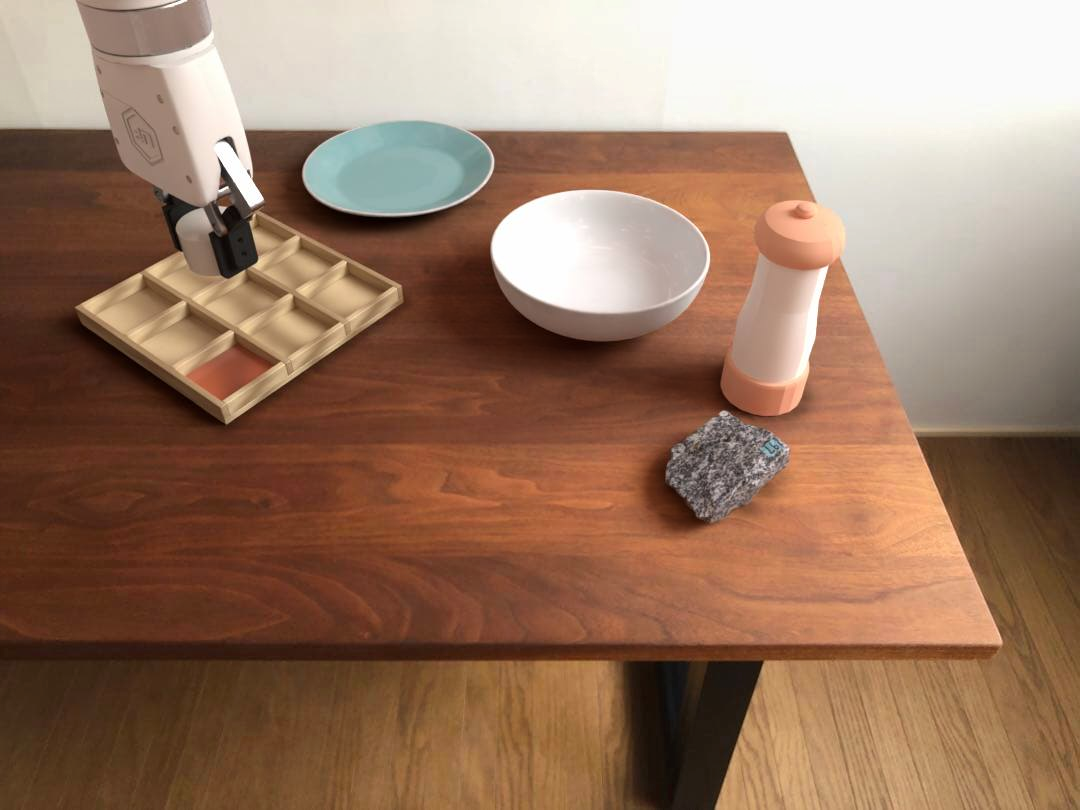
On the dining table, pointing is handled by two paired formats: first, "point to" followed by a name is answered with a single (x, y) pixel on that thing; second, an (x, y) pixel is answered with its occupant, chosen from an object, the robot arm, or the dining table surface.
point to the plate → (398, 168)
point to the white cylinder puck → (198, 242)
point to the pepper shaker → (781, 307)
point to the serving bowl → (599, 263)
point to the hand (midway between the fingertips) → (216, 254)
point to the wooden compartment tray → (241, 318)
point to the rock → (724, 465)
